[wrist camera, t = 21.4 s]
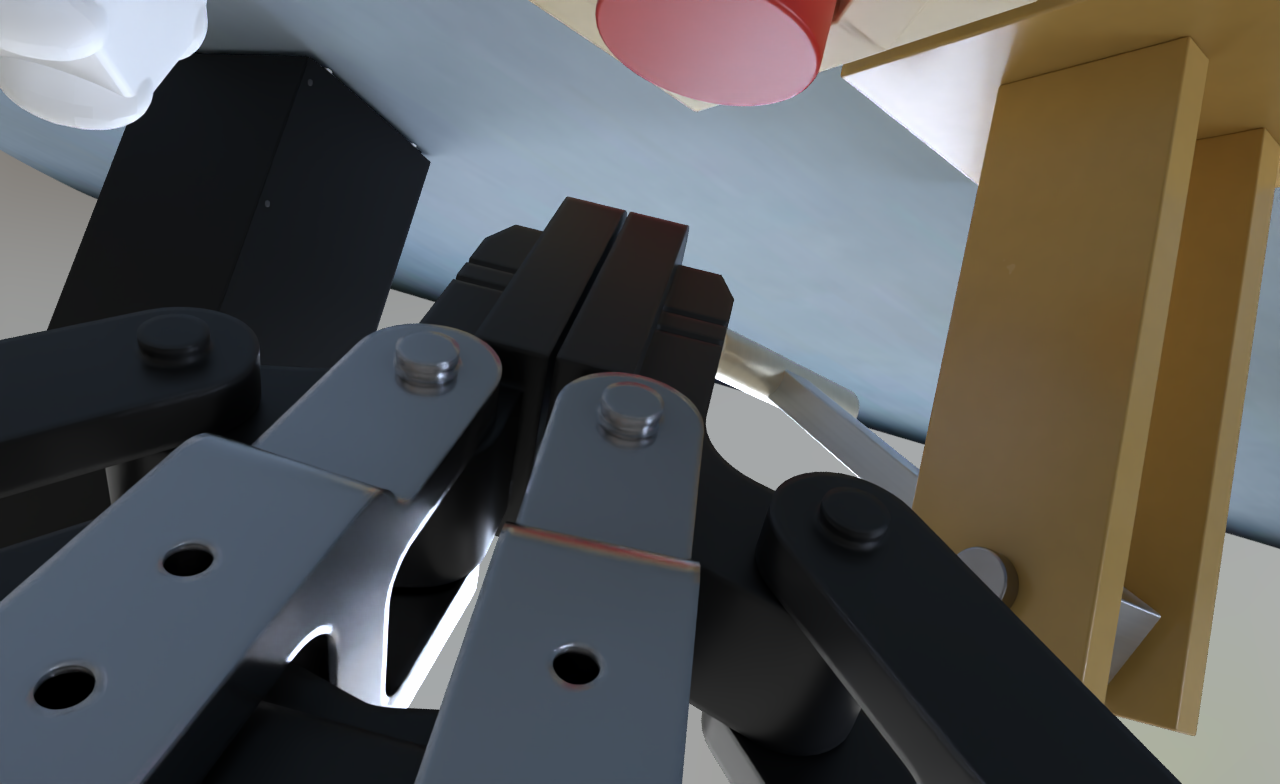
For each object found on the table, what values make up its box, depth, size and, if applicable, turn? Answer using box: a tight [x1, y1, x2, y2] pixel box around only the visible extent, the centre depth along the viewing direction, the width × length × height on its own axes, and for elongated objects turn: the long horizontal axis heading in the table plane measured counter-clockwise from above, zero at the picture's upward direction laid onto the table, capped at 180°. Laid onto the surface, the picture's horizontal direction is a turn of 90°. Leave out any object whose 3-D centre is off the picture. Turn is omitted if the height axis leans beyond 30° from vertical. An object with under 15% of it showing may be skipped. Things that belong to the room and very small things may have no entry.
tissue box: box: [0, 54, 431, 549], centre depth 37 cm, size 8×8×28 cm
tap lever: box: [716, 328, 1161, 684], centre depth 26 cm, size 13×6×2 cm, turn 142°
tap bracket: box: [841, 0, 1280, 736], centre depth 23 cm, size 11×9×15 cm
